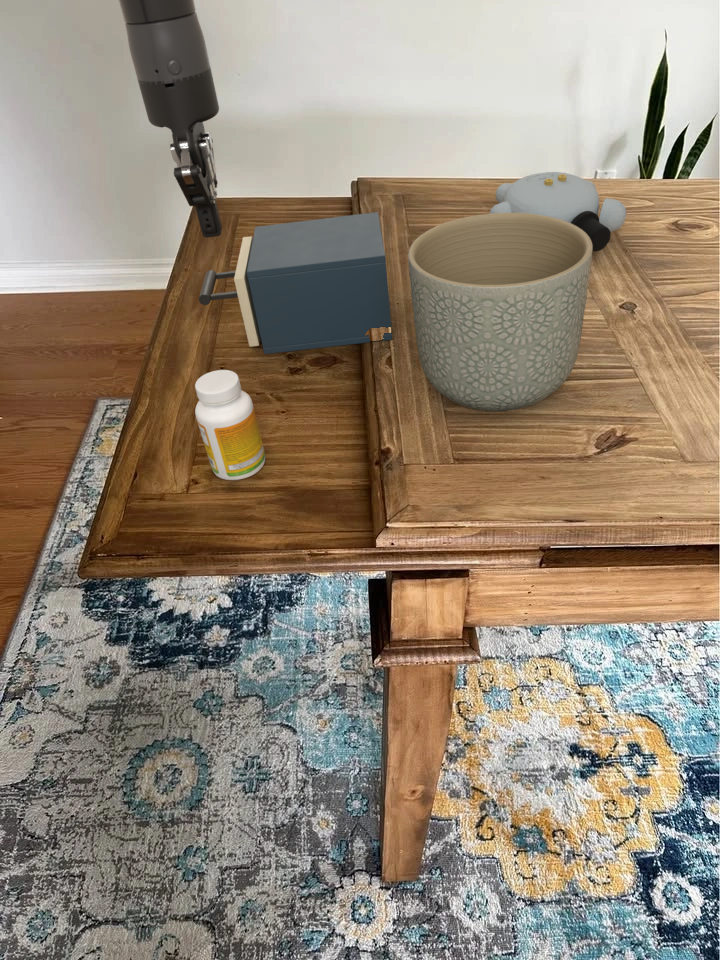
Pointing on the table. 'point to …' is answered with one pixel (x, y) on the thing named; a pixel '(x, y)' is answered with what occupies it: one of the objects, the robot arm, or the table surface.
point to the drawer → (241, 293)
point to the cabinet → (319, 282)
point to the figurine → (563, 203)
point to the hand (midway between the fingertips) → (213, 234)
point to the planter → (499, 307)
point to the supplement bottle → (228, 426)
